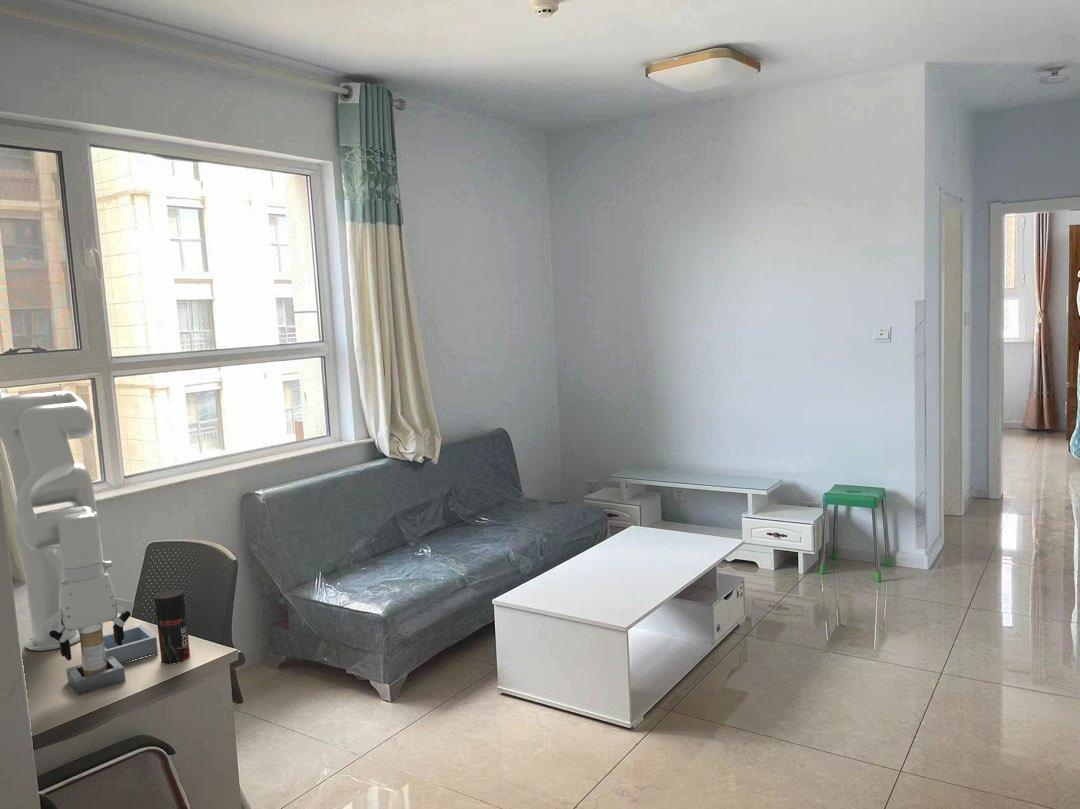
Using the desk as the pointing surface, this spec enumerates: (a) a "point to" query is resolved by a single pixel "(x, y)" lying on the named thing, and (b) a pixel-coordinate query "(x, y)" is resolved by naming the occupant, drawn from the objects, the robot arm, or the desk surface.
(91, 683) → the socket collar
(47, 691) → the desk surface
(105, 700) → the desk surface
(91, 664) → the sprinkles bottle
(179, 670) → the desk surface
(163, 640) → the deodorant
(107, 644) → the bin
